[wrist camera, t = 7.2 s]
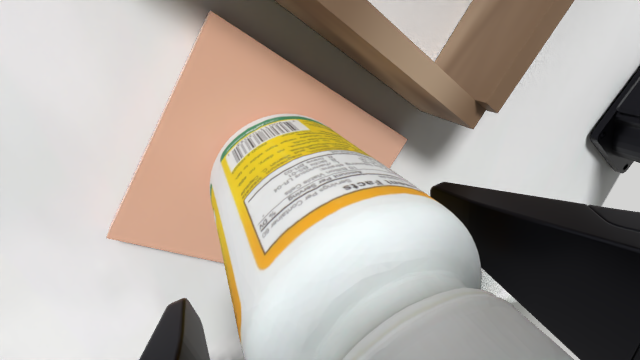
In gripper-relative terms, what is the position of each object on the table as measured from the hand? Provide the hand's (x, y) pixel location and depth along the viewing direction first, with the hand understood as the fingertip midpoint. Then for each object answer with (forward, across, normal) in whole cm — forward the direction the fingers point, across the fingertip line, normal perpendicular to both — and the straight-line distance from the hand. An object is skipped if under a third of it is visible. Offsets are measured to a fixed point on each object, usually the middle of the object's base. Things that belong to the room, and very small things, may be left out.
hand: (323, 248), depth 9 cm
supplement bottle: (+5, 0, 0) cm, 5 cm away
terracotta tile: (+5, 0, 0) cm, 5 cm away
